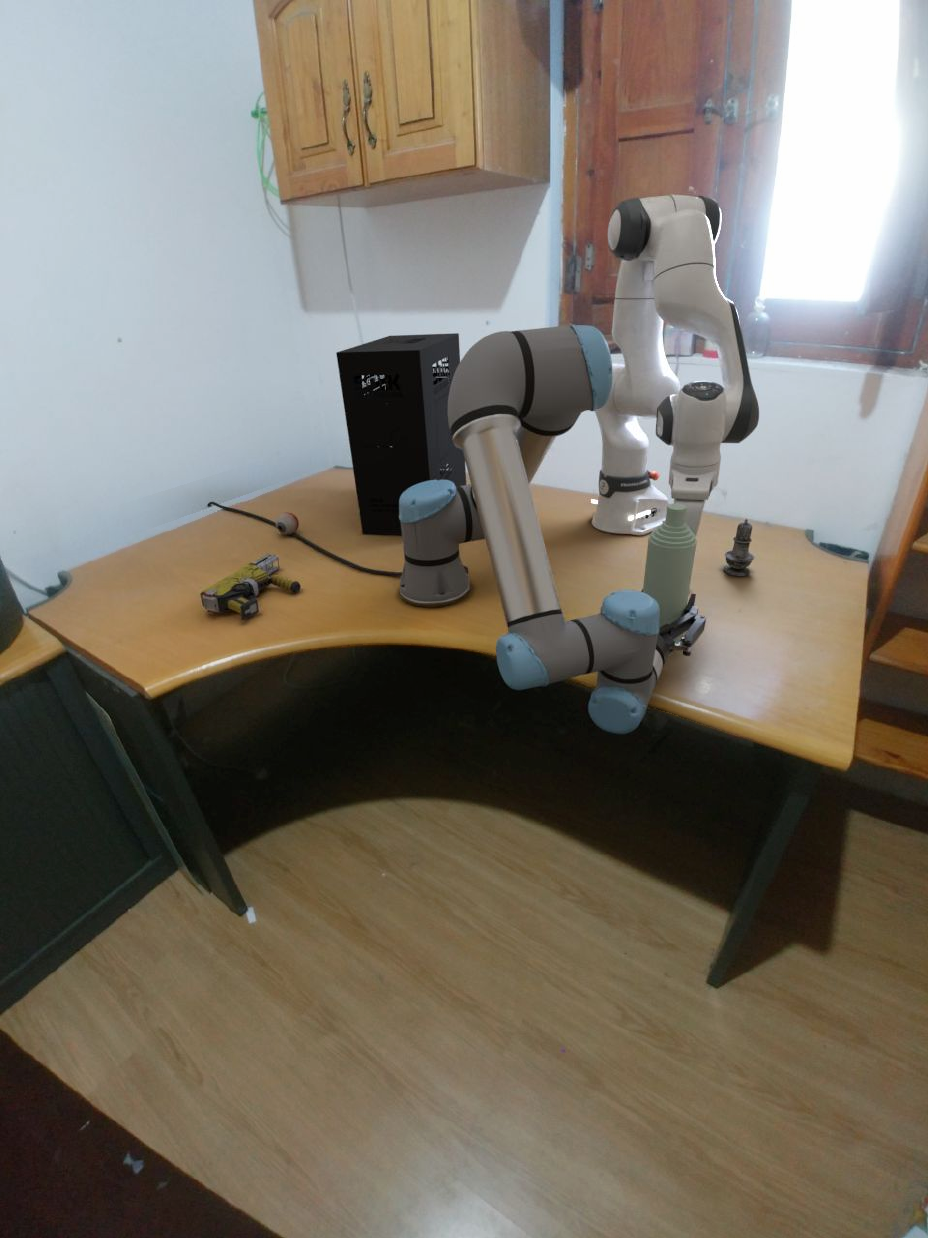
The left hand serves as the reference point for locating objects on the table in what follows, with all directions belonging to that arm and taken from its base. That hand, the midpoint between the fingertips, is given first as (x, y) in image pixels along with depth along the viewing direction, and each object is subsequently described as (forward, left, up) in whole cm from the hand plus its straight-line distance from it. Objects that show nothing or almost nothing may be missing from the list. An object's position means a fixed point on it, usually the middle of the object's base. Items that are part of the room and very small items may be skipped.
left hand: (668, 596), depth 112 cm
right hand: (0, +15, +5) cm, 16 cm away
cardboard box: (-78, +38, -6) cm, 87 cm away
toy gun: (-83, -21, -6) cm, 85 cm away
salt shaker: (+9, +28, -6) cm, 31 cm away
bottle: (0, -5, -6) cm, 8 cm away
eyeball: (-102, +9, -6) cm, 103 cm away
